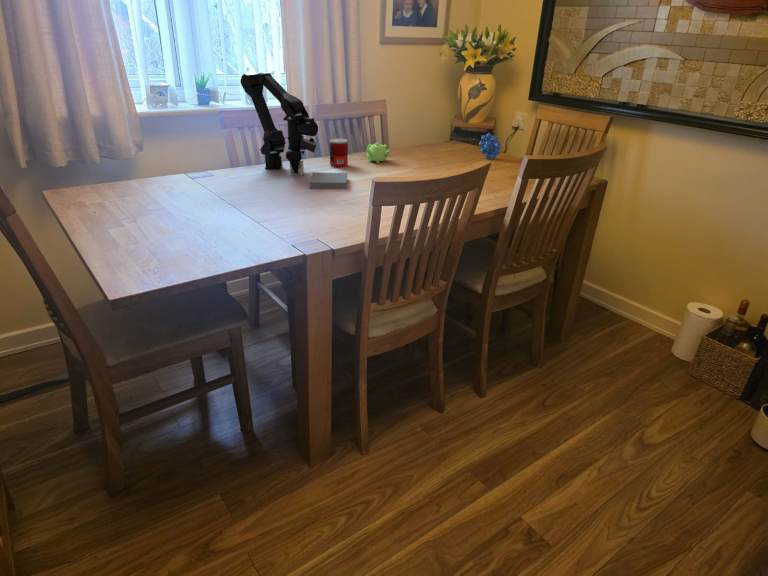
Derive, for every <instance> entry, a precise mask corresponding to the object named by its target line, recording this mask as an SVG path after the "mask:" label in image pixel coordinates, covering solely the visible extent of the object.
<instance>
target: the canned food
mask: <svg viewBox="0 0 768 576" xmlns="http://www.w3.org/2000/svg"><path fill="white" fill-rule="evenodd" d="M348 143H349V142H348V139H346V138H331V139H330V140H329V164H330V166H331V167H332V166H334V167H333V168H345V167H347V166H348V164H349V162H348V157H349V156H348V155H349V152H348V151H349V149H348V146H349V145H348Z"/></svg>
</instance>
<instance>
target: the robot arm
mask: <svg viewBox="0 0 768 576" xmlns="http://www.w3.org/2000/svg"><path fill="white" fill-rule="evenodd" d="M240 84H241V87H242V89H243V90H244V91H243V92H244V93H246V94H247V95H248V97H250V98H251V101H252V103H253V106H254V108H255V112H256V113H257V116H258V119H259V121H260V124H261V127H262V130H263V137H262V138H263V139H262V140H263V145H262V146H260V154H261V155H264V162H265V167H264V169H265V170H281V169H282V167H283V165H284V164H283V156H282V155H281V154H282V153H284V152H285V148H286V147H285V146H286V137H285V136H284V135H285V134H284V132H283V130H280V129H278V128H276V126H275V122H274V121H273V118H272V114H271V113H270V110H269V109H270V108H269V107H268V105H267V102H266V99H265V97H264V94H263V93H264V88H265V89H266V90H268V92H269V93H270V94H271V95H272V96H273V97H274V98H275V99H276V100H277V101H278V102H279V105H280V108H281V110H282V111H283V112H284V114H285V116H284V117H283V119H282V120H283V121H287V122H286V123H287V124H286V125H287V140H288V146H287V149H288V150H287V151H286V153H285V160H288V163H289V165H290V164H291V166H292V168H293V170H294V172H295V173H298V167H299V161H302V159H303V155H304V154H305V151H306V150H307V151H309V152H310V153H315V151H316V147H317V145H318V143H317V142H315V138H314V137H315V136H317V135H318V132H319V126H318V123H317V122H316V121H315V117H310V115H309V113H308V111H307V109H306V108H305V105H304V103H303V101H302V100H301V99H299V98H298V97H297V96H295V95H292V94H290V93H288V91H287V90H286V89H285V88H284V87H283V86H282V85H281V84H280V83H279V82H278V81H277V80H276V79H275V78H274V77H273V76H272V74H271V72H267V71H263V72H259V73H255V72H253V73H243V74H242V75H241V78H240ZM305 136H307V137H310V138H308V139H307V138H305Z"/></svg>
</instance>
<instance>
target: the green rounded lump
mask: <svg viewBox="0 0 768 576" xmlns="http://www.w3.org/2000/svg"><path fill="white" fill-rule="evenodd" d="M387 148H388V145H387V144H380V142H374V144H368V145H367V147H366V150H365V151H366V158H367V159H368V161H369V163H372V162H375V164H380V163H381V162H383V163H384V162H386V160H387V158H388V156H389V155H390V154H391V152H392V149H391V148H389V149H388V150H387Z"/></svg>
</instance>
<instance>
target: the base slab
mask: <svg viewBox="0 0 768 576" xmlns="http://www.w3.org/2000/svg"><path fill="white" fill-rule="evenodd" d="M347 187H348V172H312V174H311V177H310V180H309V189H310V190H311V189H313V190H321V189H322V190H347Z"/></svg>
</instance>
